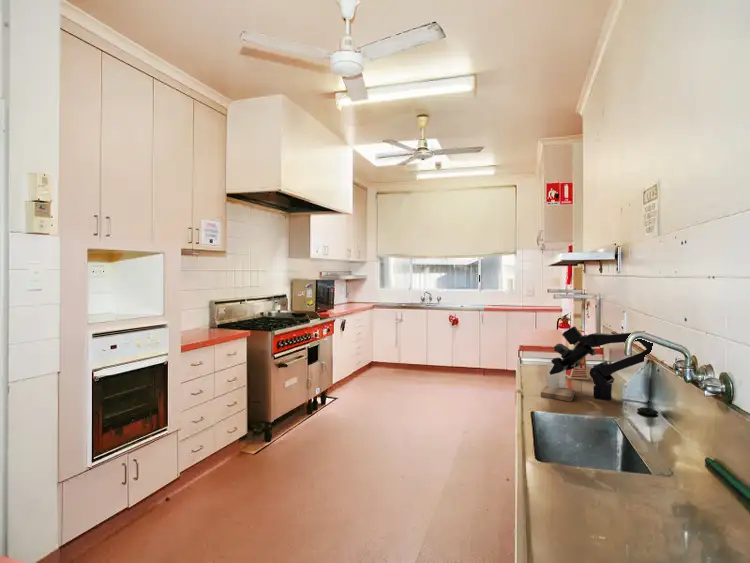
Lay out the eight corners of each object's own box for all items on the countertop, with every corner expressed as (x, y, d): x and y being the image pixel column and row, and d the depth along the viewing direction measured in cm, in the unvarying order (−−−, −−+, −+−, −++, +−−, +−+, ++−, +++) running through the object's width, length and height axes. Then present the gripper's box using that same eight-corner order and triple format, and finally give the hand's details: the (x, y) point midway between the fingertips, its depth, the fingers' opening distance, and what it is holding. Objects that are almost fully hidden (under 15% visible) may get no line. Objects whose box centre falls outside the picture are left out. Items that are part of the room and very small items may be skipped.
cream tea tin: (565, 387, 206) (565, 364, 205) (559, 390, 202) (559, 366, 201) (552, 385, 210) (553, 362, 210) (546, 387, 206) (547, 363, 206)
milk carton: (588, 379, 223) (590, 340, 223) (570, 378, 224) (571, 339, 223) (580, 375, 233) (582, 337, 232) (562, 374, 233) (564, 336, 232)
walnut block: (574, 394, 194) (574, 390, 194) (570, 401, 184) (571, 396, 184) (545, 390, 201) (545, 385, 200) (540, 396, 190) (540, 391, 190)
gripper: (575, 337, 208) (551, 356, 217) (556, 340, 196) (532, 361, 205) (591, 356, 203) (566, 375, 211) (573, 361, 190) (548, 381, 199)
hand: (553, 372), depth 207 cm, fingers closed on cream tea tin, 6 cm apart
